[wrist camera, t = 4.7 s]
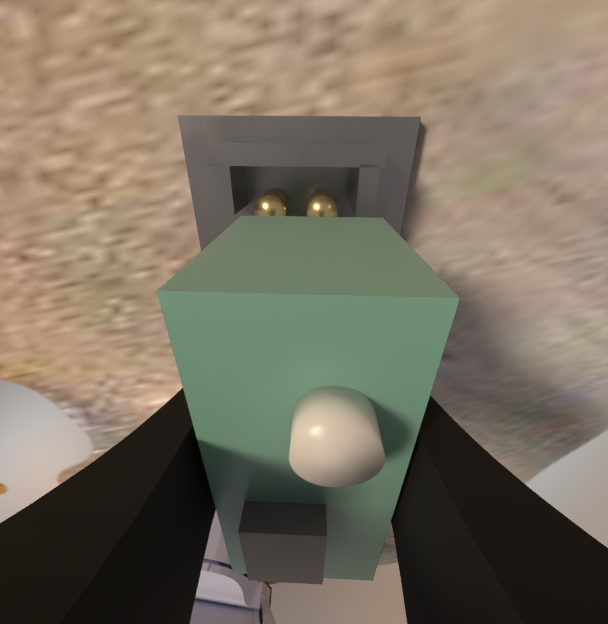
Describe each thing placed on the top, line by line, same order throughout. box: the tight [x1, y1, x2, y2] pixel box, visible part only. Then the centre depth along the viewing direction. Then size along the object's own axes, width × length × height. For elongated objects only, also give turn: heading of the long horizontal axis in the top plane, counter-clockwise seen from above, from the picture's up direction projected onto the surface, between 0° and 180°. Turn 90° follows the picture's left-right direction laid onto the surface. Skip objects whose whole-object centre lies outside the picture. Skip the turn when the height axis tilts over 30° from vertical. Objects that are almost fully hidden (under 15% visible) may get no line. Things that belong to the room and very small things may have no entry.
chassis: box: [178, 115, 421, 251], centre depth 15 cm, size 14×11×4 cm
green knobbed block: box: [157, 216, 460, 584], centre depth 8 cm, size 9×4×6 cm, turn 179°
